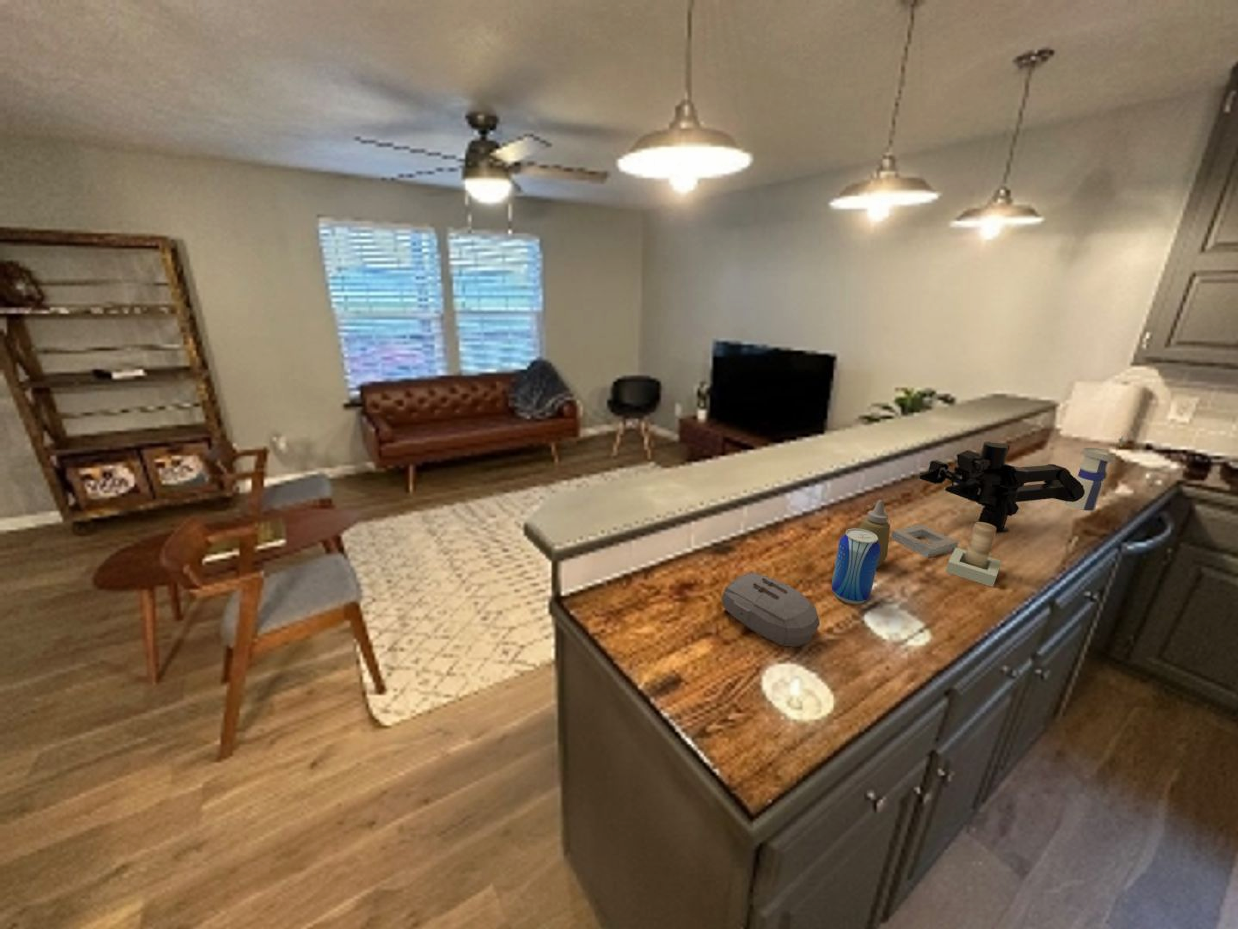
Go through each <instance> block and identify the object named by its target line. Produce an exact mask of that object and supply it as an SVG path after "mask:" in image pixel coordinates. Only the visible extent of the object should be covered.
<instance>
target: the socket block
mask: <svg viewBox="0 0 1238 929" xmlns="http://www.w3.org/2000/svg"><path fill="white" fill-rule="evenodd" d="M891 531H892V532H891V537H890V539H891V540H893V541H895V542H896V543H898V544H901V546H905V547H907V548H908V549H910V550H912V551H913V552H916V553H918V554H919V555H921V556H923V557H925V558H927V559H928V558H931V557H935V556H940V555H942V554H947V553H951V552H954V550H955V548H958V545H959V541H957V540H956V539H953V538H952V537H951V538H950V537H948V536H947V535H944V534H942V533H940V532H938V531H936V530H934V529H931V528H929V527H927V526H925V525H923V524H917V525H911V526H907V527H903V528H899V529H898V528H897V529H895V530H891ZM919 538H921V539H924V540H926V541H928V542H929V543H927V542H925V541H923V540H921V539H919Z"/></svg>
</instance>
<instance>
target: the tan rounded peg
mask: <svg viewBox="0 0 1238 929" xmlns="http://www.w3.org/2000/svg"><path fill="white" fill-rule="evenodd" d="M975 522H976V523H975V524H974V523H973V527H972V531H971V534H970V538H969V542H968V545H967V549H966V550H967V552H966V555H965V559H964V562H963V563H966V564H969V565H972V566H975V567H979V568H982V569H984V568H985V565H986V562H987V559H988V557H989V555H990V551H991V548H992V546H993V541H994V539H995V535H996V533H997V532H996V529H997V528H996V527H995V526H993V525H991V524H988V523H984V522H977V521H975Z"/></svg>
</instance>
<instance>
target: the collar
mask: <svg viewBox="0 0 1238 929" xmlns="http://www.w3.org/2000/svg"><path fill="white" fill-rule="evenodd" d="M966 552H967V549H963V548H960V547H957V548H955V550H954V551H952V554H951V555H950V557H949V560H948V562H947V565H946V570H945V573H948V574H951V575H954V576H957V577H960V578H963V579H966V580H969V581H972V582H975V583H979V584H981V583H982V585H984V584H985V585H984V586H989V587H992V588H994V586H995V582H996V580H997V577H998V576H997V575H998V574H999V570H1000V567H1001V564H1002V560H1000V559H997V558H994V557H990V556H988V559H987V562H986V565H985V568H984V569H982V568H979V567H975V566H972V565H969V564H966V563H963V562H964V559H965V555H966Z"/></svg>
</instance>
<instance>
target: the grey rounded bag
mask: <svg viewBox="0 0 1238 929" xmlns="http://www.w3.org/2000/svg"><path fill="white" fill-rule="evenodd" d="M721 605H722V606H723V608H724V609H725V610H726V611H727V612H728V613H729V614H730V615H731V616H732V617H733V618H734V619H735V620H737V622H739V621H740V622H739V623H741V624H742V625H743V624H744V626H745V627H746V628H747V629H749V630H751V631H752V632H754V633H756V634H757V635H760V636H762V637H764V638H765V639H767V640H769V641H772V642H774V643H776V644H778V645H780V646H782V647H800V646H802V645H805V644H808V643H810V641H811V639H812V638H813V637H814V635H815V633H816V632H817V630H818V628H819V626H820V625H821V624H820V619H819V615H818V611H817V608H816V606H815V604H813V603H812V602H811V600H809V599H808V598H807V597H806V596H805V595H803V593H802V592H800V591H798V590H797V589H795V588H793V587H792V586H790V585H789V584H787V583H783V582H782V581H779V580H777V579H775V578H773V577H772V578H771V577H769V576H765V575H763V574H762V575H761V574H759V573H756V572H747V573H744V574H742V575H739V576H738V577H736V578H735V579H734V580H732V581H731V582H729V584H728V585H727V586H726V587H725V588H724V590H723V593H722V595H721Z"/></svg>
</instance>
